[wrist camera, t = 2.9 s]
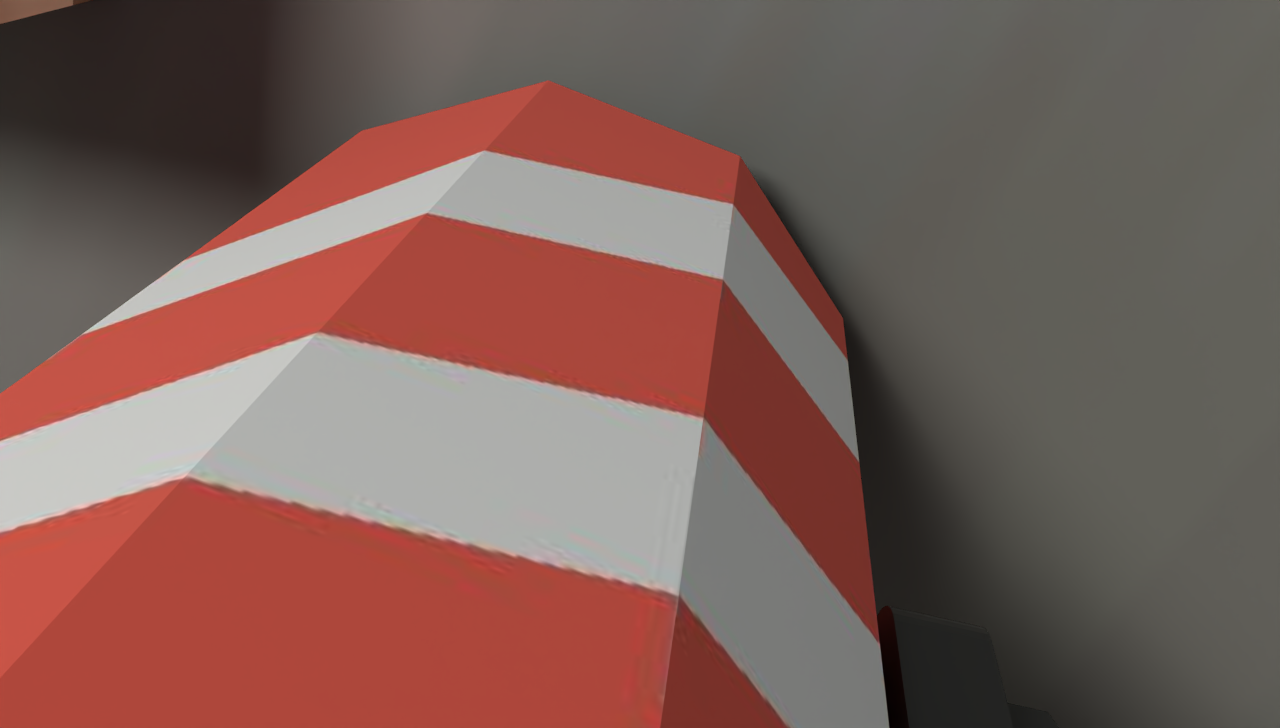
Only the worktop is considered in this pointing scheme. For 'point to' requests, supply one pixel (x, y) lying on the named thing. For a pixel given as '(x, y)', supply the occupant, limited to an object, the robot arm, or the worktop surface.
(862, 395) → the worktop surface
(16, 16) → the holder block
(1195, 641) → the worktop surface
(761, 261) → the beverage can
